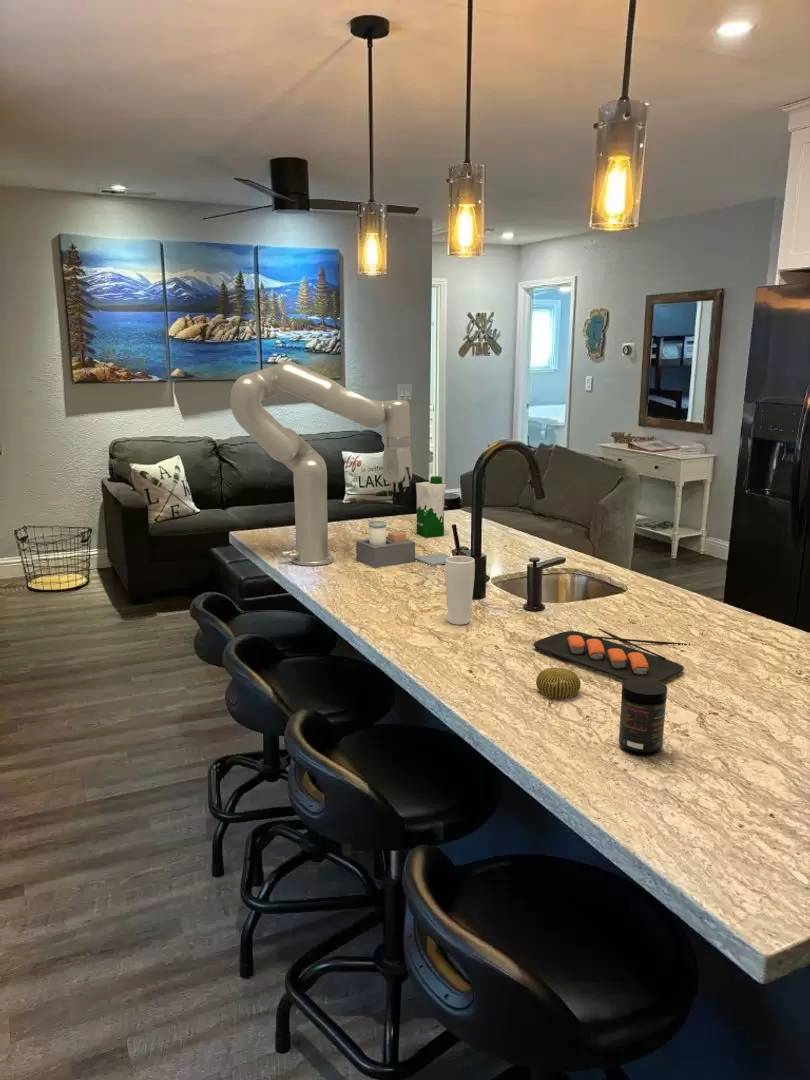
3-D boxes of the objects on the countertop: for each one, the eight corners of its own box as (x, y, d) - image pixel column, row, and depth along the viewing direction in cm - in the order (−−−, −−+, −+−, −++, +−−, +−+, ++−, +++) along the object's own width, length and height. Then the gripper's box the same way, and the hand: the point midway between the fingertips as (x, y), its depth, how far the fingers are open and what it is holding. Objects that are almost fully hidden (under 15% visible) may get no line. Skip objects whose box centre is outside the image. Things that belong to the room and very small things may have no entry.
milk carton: (447, 536, 274) (448, 478, 270) (423, 538, 271) (424, 480, 266) (435, 531, 282) (436, 475, 278) (412, 533, 279) (412, 476, 274)
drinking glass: (471, 627, 182) (473, 563, 179) (442, 625, 184) (443, 562, 180) (475, 618, 189) (476, 556, 185) (446, 616, 190) (447, 554, 187)
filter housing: (374, 567, 233) (374, 547, 232) (356, 559, 243) (356, 540, 241) (415, 561, 241) (415, 542, 239) (396, 554, 250) (396, 535, 248)
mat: (431, 566, 235) (431, 564, 235) (413, 559, 243) (413, 557, 243) (459, 562, 240) (459, 559, 240) (440, 555, 248) (440, 552, 248)
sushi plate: (527, 652, 169) (527, 634, 168) (612, 622, 188) (613, 606, 187) (646, 695, 148) (648, 676, 147) (730, 657, 166) (731, 639, 166)
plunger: (394, 551, 240) (394, 535, 239) (388, 549, 244) (388, 532, 242) (406, 550, 242) (406, 533, 241) (399, 547, 246) (399, 531, 245)
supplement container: (665, 742, 128) (670, 681, 126) (659, 761, 122) (664, 697, 120) (622, 734, 131) (626, 674, 129) (614, 752, 125) (618, 689, 123)
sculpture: (527, 672, 146) (553, 661, 152) (526, 692, 147) (552, 681, 153) (564, 684, 141) (589, 672, 146) (563, 706, 142) (588, 693, 147)
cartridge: (374, 565, 237) (374, 525, 234) (365, 561, 241) (365, 522, 238) (389, 562, 239) (389, 523, 237) (380, 559, 244) (380, 520, 241)
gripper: (373, 441, 240) (375, 502, 244) (399, 446, 228) (400, 509, 232) (395, 440, 244) (396, 499, 248) (422, 444, 231) (422, 506, 236)
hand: (398, 504), depth 240 cm, fingers closed
